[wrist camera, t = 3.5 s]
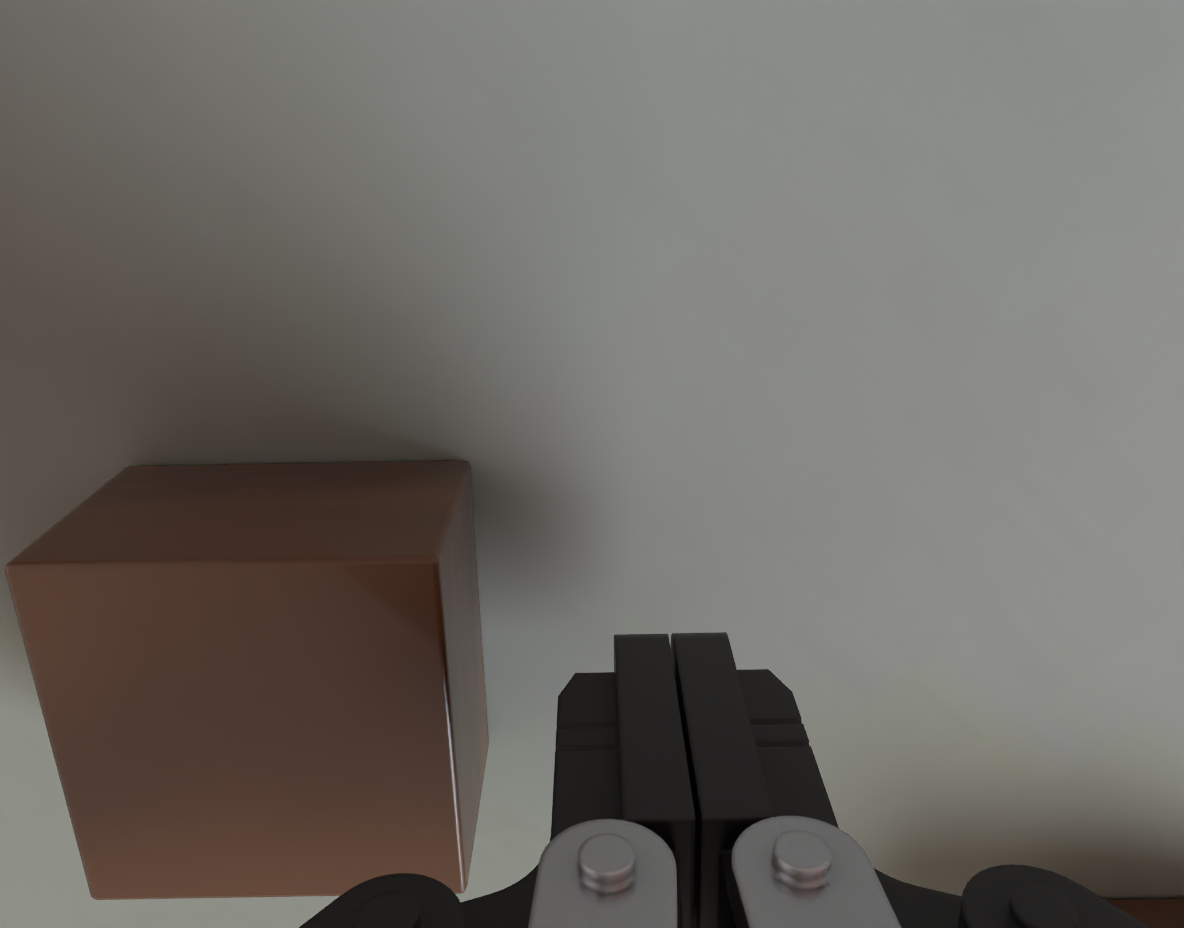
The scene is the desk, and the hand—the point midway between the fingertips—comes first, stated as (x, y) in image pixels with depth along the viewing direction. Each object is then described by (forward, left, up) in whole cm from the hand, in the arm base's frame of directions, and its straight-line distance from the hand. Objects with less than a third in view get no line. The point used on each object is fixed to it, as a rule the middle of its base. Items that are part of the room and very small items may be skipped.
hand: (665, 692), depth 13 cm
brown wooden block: (0, -5, -2) cm, 6 cm away
